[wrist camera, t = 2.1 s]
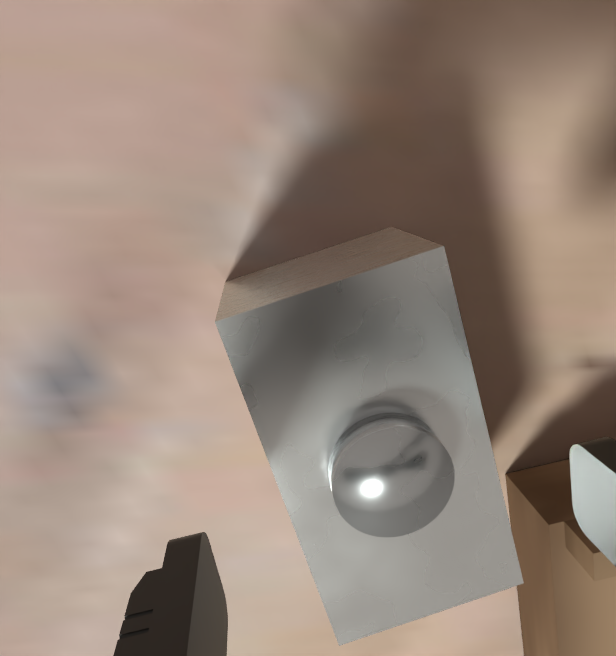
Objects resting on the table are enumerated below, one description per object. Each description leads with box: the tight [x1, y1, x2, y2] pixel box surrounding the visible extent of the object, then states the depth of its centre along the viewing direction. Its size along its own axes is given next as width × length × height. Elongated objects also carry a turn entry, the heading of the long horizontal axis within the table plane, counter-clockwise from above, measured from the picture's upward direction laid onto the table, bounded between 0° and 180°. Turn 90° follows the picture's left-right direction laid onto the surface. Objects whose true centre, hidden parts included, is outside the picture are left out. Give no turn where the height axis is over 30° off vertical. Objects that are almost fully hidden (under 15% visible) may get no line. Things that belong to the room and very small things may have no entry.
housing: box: [215, 227, 524, 646], centre depth 16 cm, size 6×10×6 cm, turn 18°
